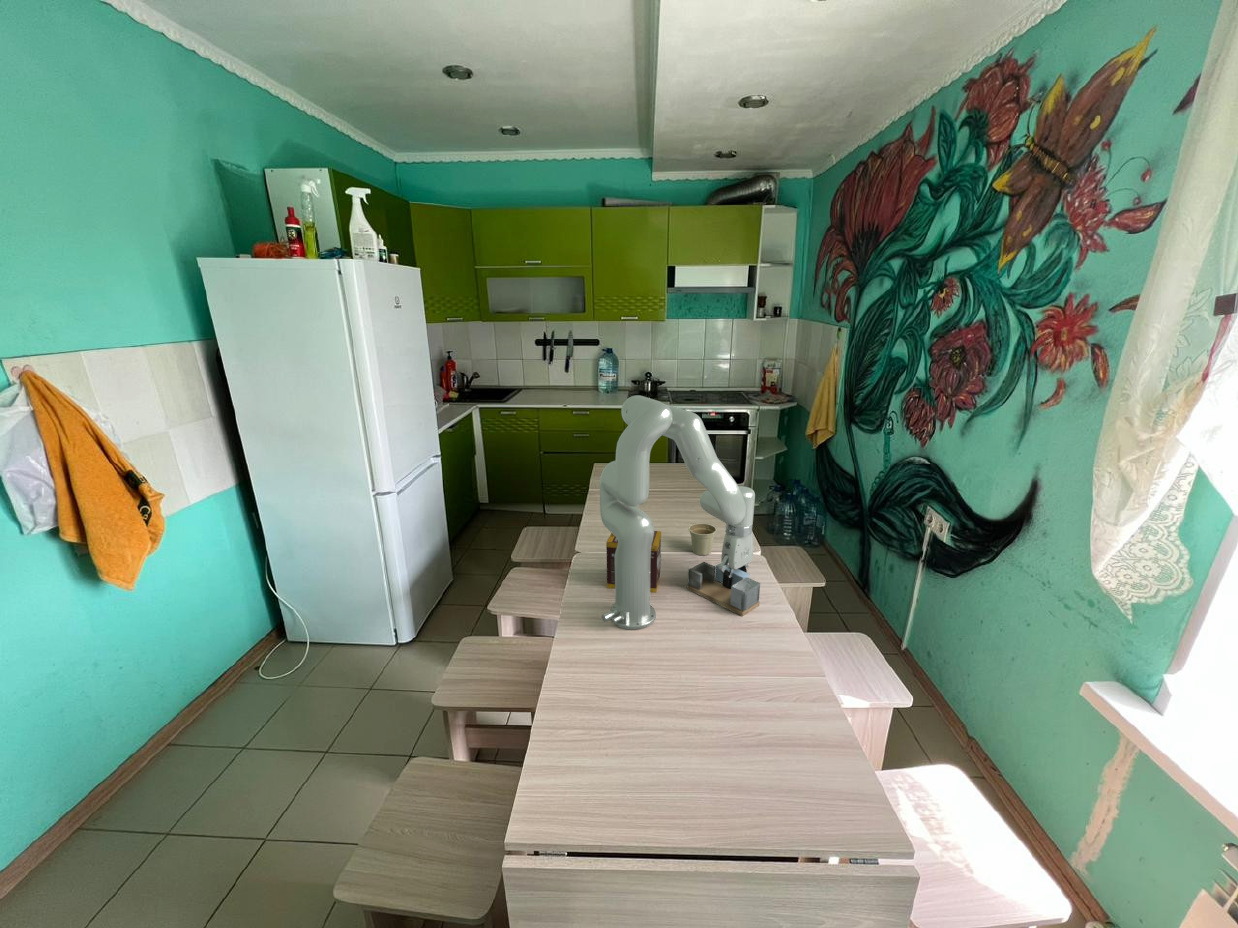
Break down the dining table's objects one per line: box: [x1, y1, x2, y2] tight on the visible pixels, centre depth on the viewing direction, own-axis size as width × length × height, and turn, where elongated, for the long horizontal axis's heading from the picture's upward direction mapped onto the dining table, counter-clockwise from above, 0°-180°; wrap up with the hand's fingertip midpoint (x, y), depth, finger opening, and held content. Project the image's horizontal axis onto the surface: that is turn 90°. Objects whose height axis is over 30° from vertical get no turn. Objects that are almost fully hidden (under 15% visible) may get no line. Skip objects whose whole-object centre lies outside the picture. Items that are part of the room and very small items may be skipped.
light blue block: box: [715, 562, 750, 586], centre depth 158 cm, size 10×3×5 cm, turn 42°
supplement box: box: [605, 530, 662, 594], centre depth 158 cm, size 10×15×16 cm
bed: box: [686, 561, 760, 617], centre depth 151 cm, size 20×8×6 cm, turn 42°
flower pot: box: [688, 522, 718, 556], centre depth 178 cm, size 9×9×9 cm
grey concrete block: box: [730, 577, 761, 611], centre depth 145 cm, size 4×7×6 cm, turn 132°
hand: (734, 582), depth 157 cm, fingers open, 6 cm apart
